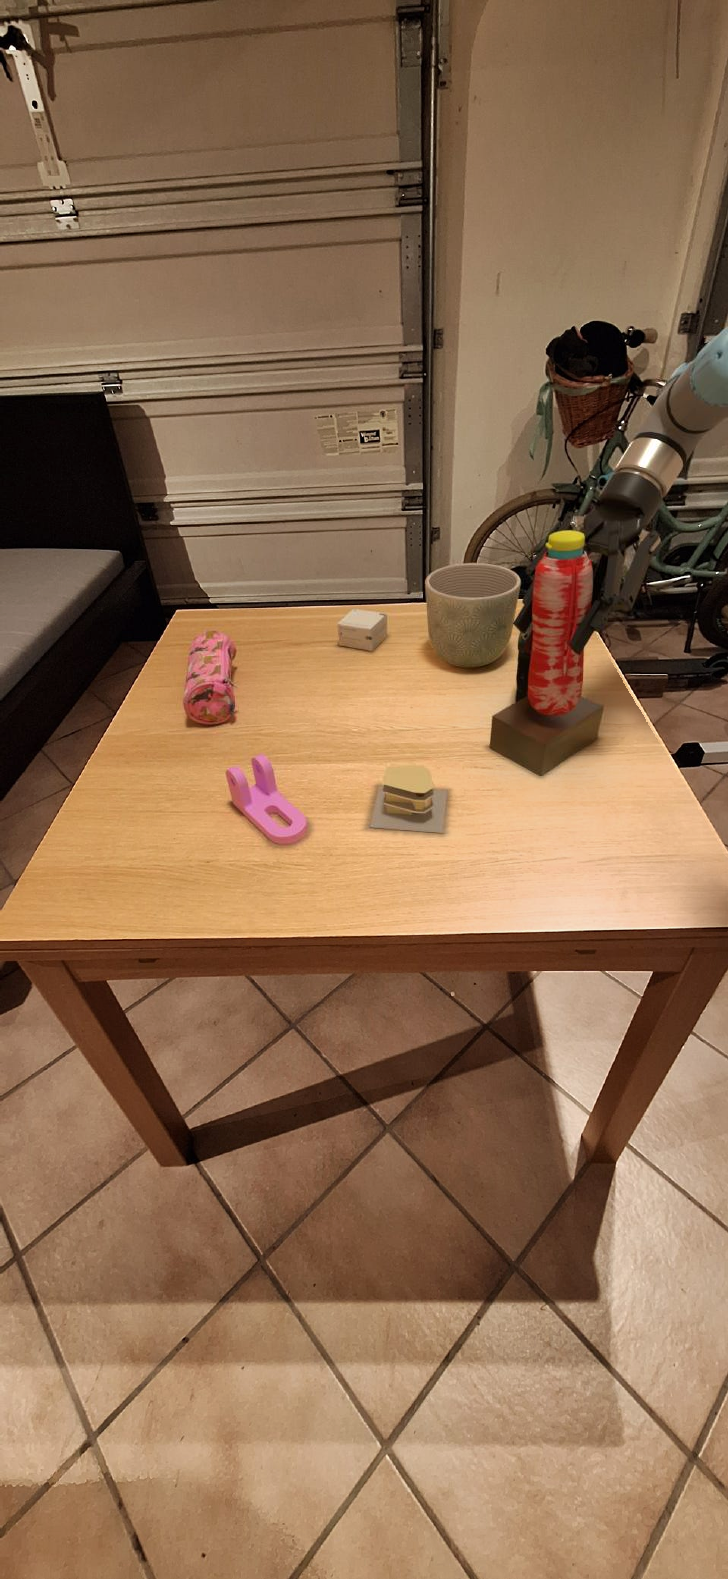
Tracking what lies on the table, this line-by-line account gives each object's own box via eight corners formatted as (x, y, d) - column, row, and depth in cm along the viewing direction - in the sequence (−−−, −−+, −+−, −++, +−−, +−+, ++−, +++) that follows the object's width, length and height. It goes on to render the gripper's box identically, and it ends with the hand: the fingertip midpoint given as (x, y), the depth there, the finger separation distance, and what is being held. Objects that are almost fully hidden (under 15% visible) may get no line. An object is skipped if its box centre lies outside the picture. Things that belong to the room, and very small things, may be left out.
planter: (417, 674, 118) (417, 596, 109) (431, 634, 131) (432, 561, 121) (510, 681, 115) (518, 600, 105) (515, 639, 127) (523, 564, 118)
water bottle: (513, 686, 100) (519, 521, 85) (564, 680, 99) (579, 513, 84) (532, 726, 90) (543, 548, 75) (589, 719, 90) (611, 539, 75)
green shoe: (537, 725, 103) (554, 608, 91) (499, 716, 106) (510, 601, 93) (569, 670, 117) (587, 561, 104) (534, 663, 119) (548, 557, 106)
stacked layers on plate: (369, 827, 86) (367, 796, 83) (379, 786, 93) (377, 756, 90) (442, 833, 85) (443, 802, 81) (447, 791, 92) (448, 760, 88)
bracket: (232, 803, 92) (223, 765, 88) (265, 787, 95) (257, 749, 90) (281, 850, 84) (273, 811, 80) (315, 831, 87) (309, 792, 82)
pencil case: (242, 724, 109) (233, 678, 103) (188, 731, 108) (175, 685, 102) (240, 665, 125) (232, 623, 119) (193, 672, 124) (182, 629, 119)
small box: (338, 646, 129) (336, 622, 126) (355, 630, 135) (353, 607, 131) (372, 652, 126) (371, 628, 123) (388, 635, 132) (388, 612, 128)
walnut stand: (597, 738, 100) (604, 705, 96) (541, 776, 93) (546, 743, 89) (545, 713, 106) (550, 682, 102) (489, 748, 99) (492, 715, 95)
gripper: (721, 518, 80) (622, 676, 82) (577, 490, 93) (496, 627, 95) (712, 482, 74) (606, 653, 76) (560, 457, 87) (474, 604, 90)
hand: (545, 638), depth 86 cm, fingers closed on water bottle, 8 cm apart
